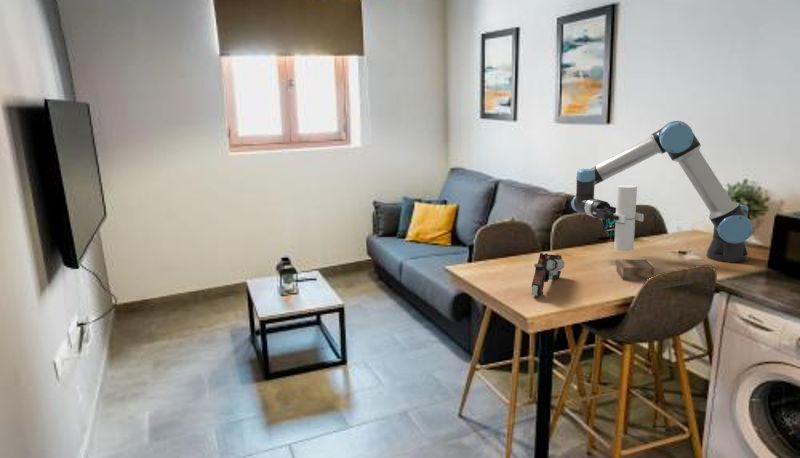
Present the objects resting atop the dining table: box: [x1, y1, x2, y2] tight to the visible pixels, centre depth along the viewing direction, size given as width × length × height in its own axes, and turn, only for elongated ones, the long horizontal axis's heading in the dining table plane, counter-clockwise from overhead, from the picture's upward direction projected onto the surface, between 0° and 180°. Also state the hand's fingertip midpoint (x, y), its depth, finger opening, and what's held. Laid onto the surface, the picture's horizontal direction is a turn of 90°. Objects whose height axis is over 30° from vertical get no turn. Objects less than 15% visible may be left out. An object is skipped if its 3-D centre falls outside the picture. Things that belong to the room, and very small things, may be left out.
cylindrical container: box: [613, 184, 638, 252], centre depth 216 cm, size 7×7×25 cm
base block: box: [615, 258, 655, 281], centre depth 215 cm, size 11×11×5 cm
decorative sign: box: [601, 219, 616, 238], centre depth 276 cm, size 19×2×15 cm, turn 115°
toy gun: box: [531, 252, 566, 297], centre depth 206 cm, size 5×28×15 cm, turn 148°
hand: (633, 218), depth 211 cm, fingers closed on cylindrical container, 7 cm apart
